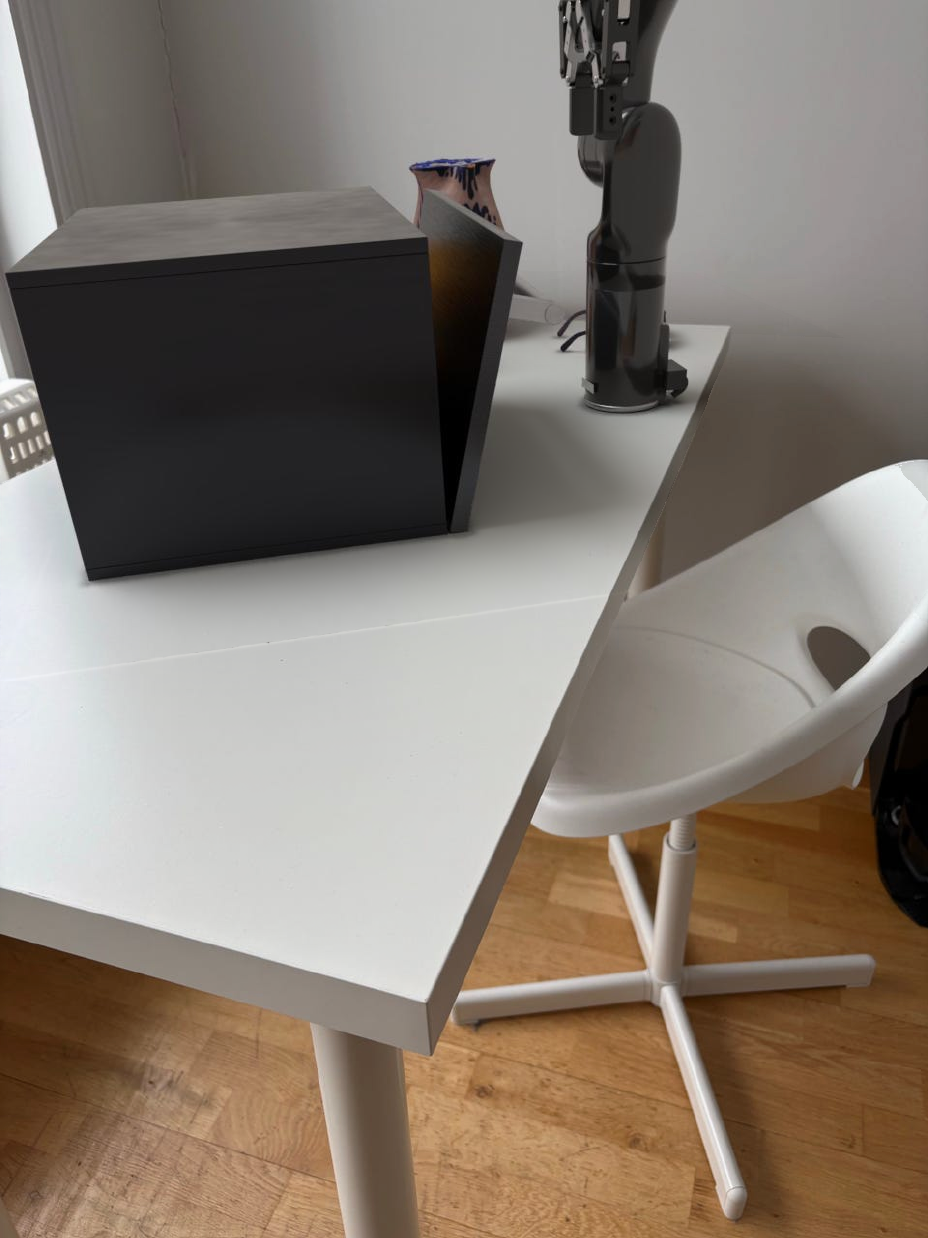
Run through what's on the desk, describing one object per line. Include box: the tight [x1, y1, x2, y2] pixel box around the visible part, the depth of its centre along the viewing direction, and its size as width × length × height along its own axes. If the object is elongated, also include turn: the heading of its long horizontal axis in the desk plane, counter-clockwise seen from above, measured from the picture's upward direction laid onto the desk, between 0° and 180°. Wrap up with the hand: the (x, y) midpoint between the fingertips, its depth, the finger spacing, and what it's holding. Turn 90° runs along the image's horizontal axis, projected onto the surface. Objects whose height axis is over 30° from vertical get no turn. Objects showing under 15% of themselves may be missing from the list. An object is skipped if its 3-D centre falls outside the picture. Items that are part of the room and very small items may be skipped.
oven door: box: [419, 188, 565, 533], centre depth 102 cm, size 8×40×26 cm, turn 11°
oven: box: [4, 185, 448, 582], centre depth 99 cm, size 32×40×26 cm
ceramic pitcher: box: [408, 157, 506, 232], centre depth 152 cm, size 18×21×25 cm
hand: (594, 136), depth 84 cm, fingers open, 6 cm apart
